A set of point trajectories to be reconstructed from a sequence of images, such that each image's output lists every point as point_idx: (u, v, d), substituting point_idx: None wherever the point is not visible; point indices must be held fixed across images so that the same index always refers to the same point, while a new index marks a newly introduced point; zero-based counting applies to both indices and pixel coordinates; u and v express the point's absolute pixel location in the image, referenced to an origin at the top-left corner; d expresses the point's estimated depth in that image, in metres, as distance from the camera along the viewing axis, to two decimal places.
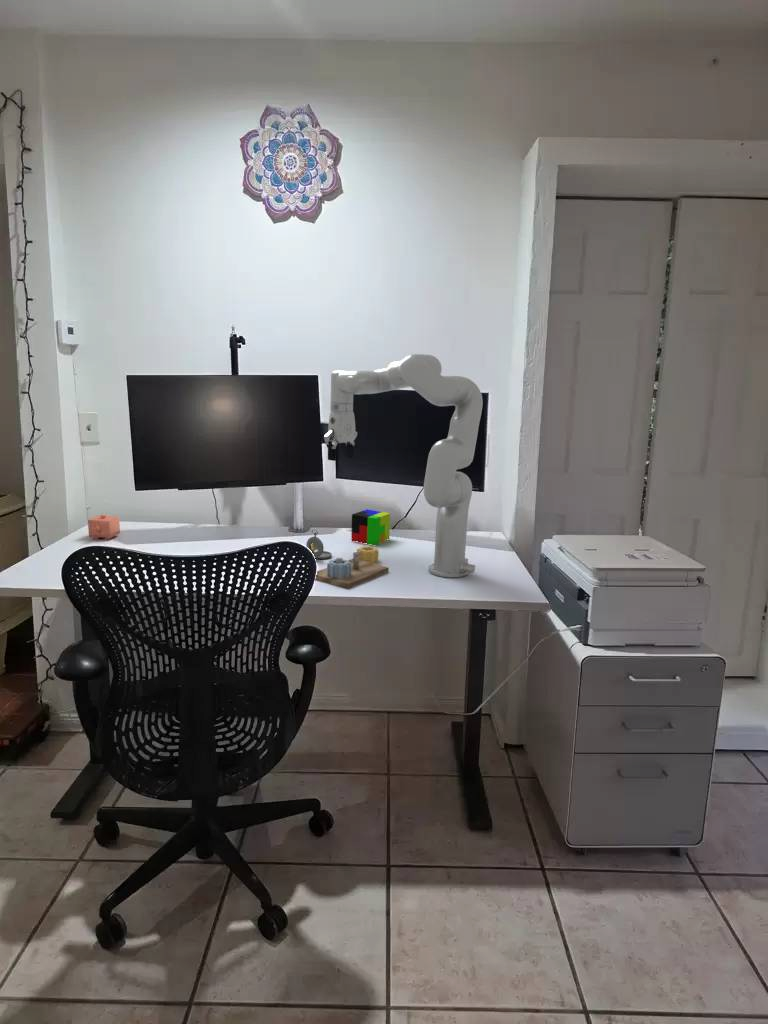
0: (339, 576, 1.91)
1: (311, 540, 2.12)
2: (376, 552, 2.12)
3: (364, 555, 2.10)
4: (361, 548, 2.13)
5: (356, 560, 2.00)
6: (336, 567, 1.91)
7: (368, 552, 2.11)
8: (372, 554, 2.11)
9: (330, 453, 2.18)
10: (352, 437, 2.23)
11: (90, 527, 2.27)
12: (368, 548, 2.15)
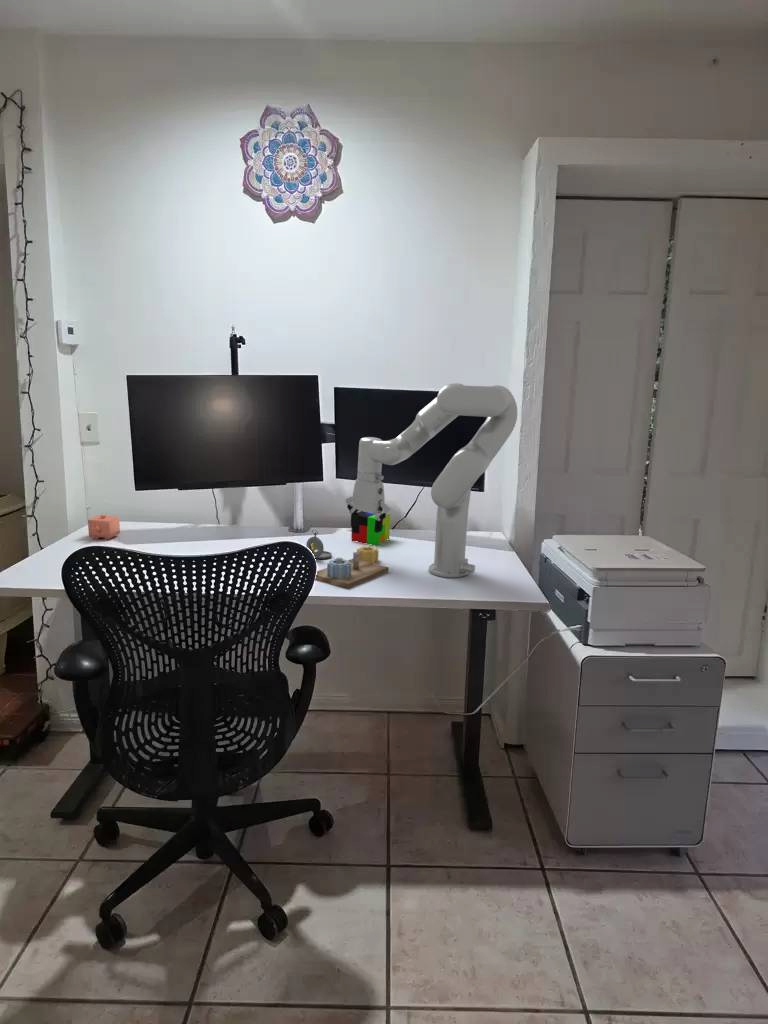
0: (339, 576, 1.91)
1: (311, 540, 2.12)
2: (376, 552, 2.12)
3: (364, 555, 2.10)
4: (361, 548, 2.13)
5: (356, 560, 2.00)
6: (336, 567, 1.91)
7: (368, 552, 2.11)
8: (372, 554, 2.11)
9: (381, 525, 2.08)
10: None
11: (90, 527, 2.27)
12: (368, 548, 2.15)
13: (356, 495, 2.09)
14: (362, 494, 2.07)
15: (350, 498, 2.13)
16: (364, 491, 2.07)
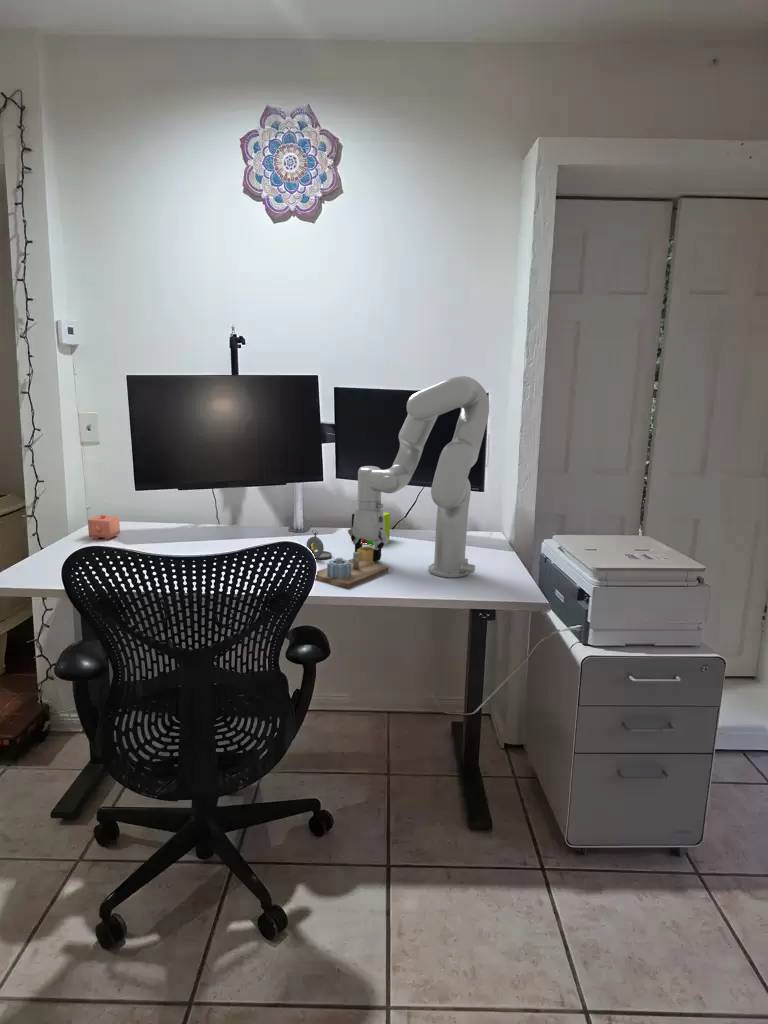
0: (339, 576, 1.91)
1: (311, 540, 2.12)
2: None
3: (364, 555, 2.10)
4: (361, 548, 2.13)
5: (356, 560, 2.00)
6: (336, 567, 1.91)
7: (368, 552, 2.11)
8: (372, 554, 2.11)
9: (379, 554, 2.11)
10: None
11: (90, 527, 2.27)
12: (368, 548, 2.15)
13: (357, 523, 2.11)
14: (362, 523, 2.09)
15: (352, 528, 2.15)
16: (364, 519, 2.09)
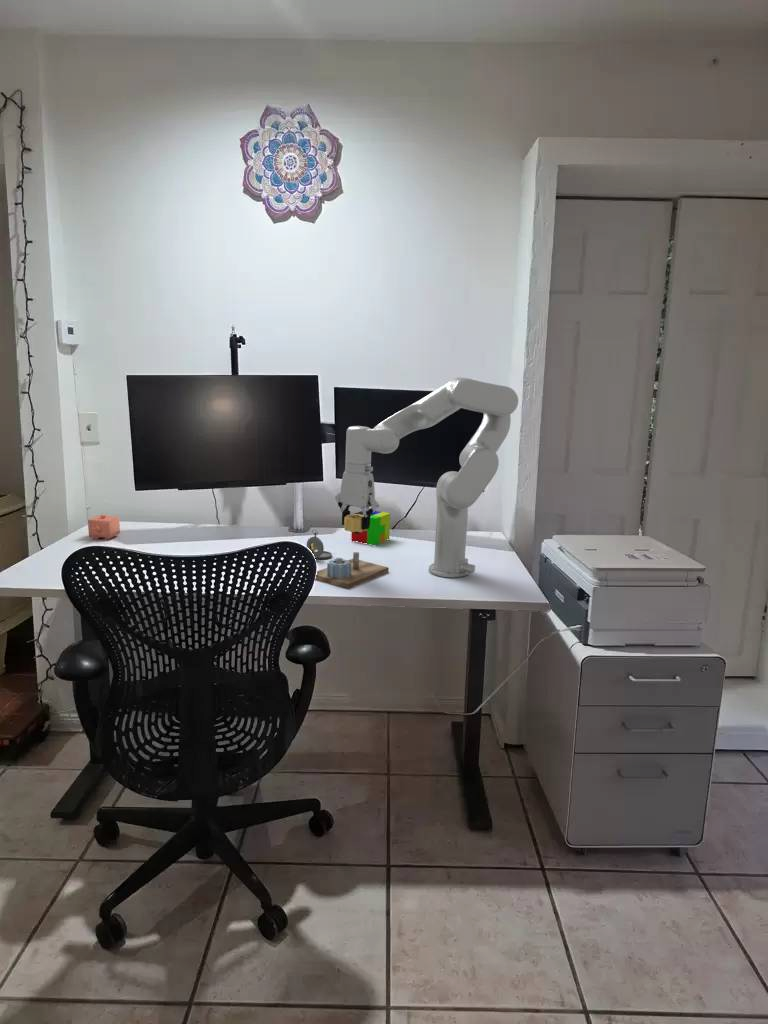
0: (339, 576, 1.91)
1: (311, 540, 2.12)
2: None
3: (352, 523, 1.94)
4: (349, 515, 1.98)
5: (356, 560, 2.00)
6: (336, 567, 1.91)
7: (356, 519, 1.95)
8: (360, 522, 1.95)
9: (368, 521, 1.95)
10: None
11: (90, 527, 2.27)
12: (356, 516, 1.99)
13: (344, 488, 1.95)
14: (350, 487, 1.94)
15: (339, 494, 1.99)
16: (353, 484, 1.93)
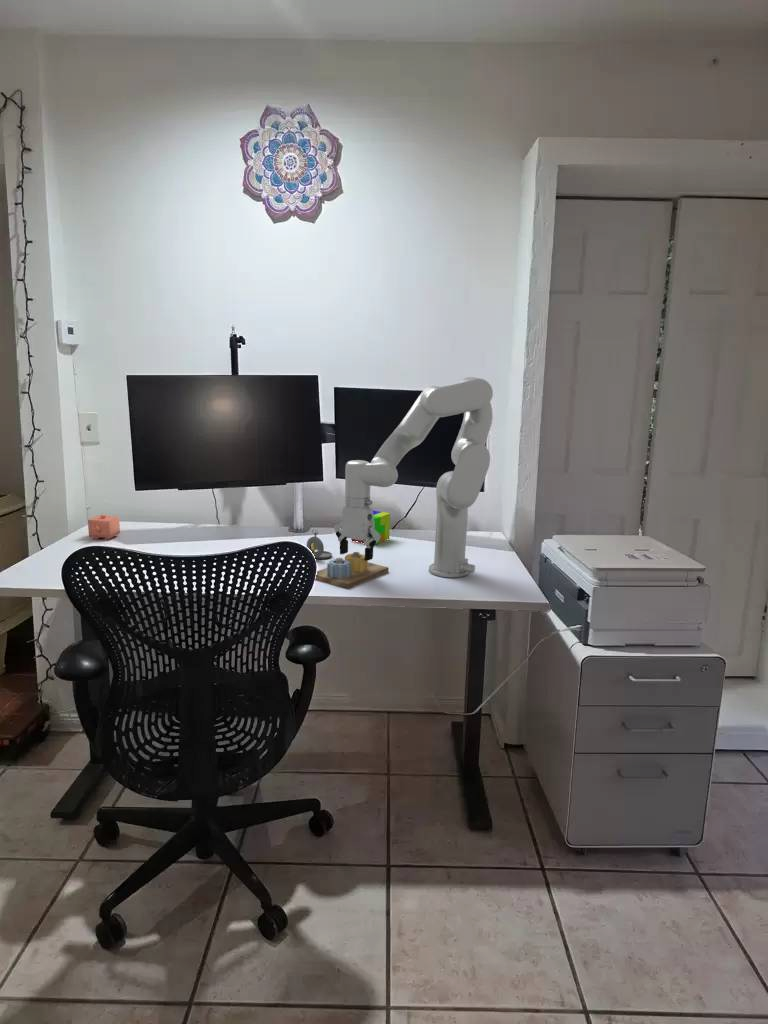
0: (339, 576, 1.91)
1: (311, 540, 2.12)
2: None
3: (352, 563, 1.97)
4: (349, 555, 2.00)
5: None
6: (336, 567, 1.91)
7: (356, 559, 1.98)
8: (361, 562, 1.97)
9: (371, 552, 1.96)
10: None
11: (90, 527, 2.27)
12: None
13: (344, 522, 1.98)
14: (350, 521, 1.96)
15: (338, 525, 2.02)
16: (352, 517, 1.95)
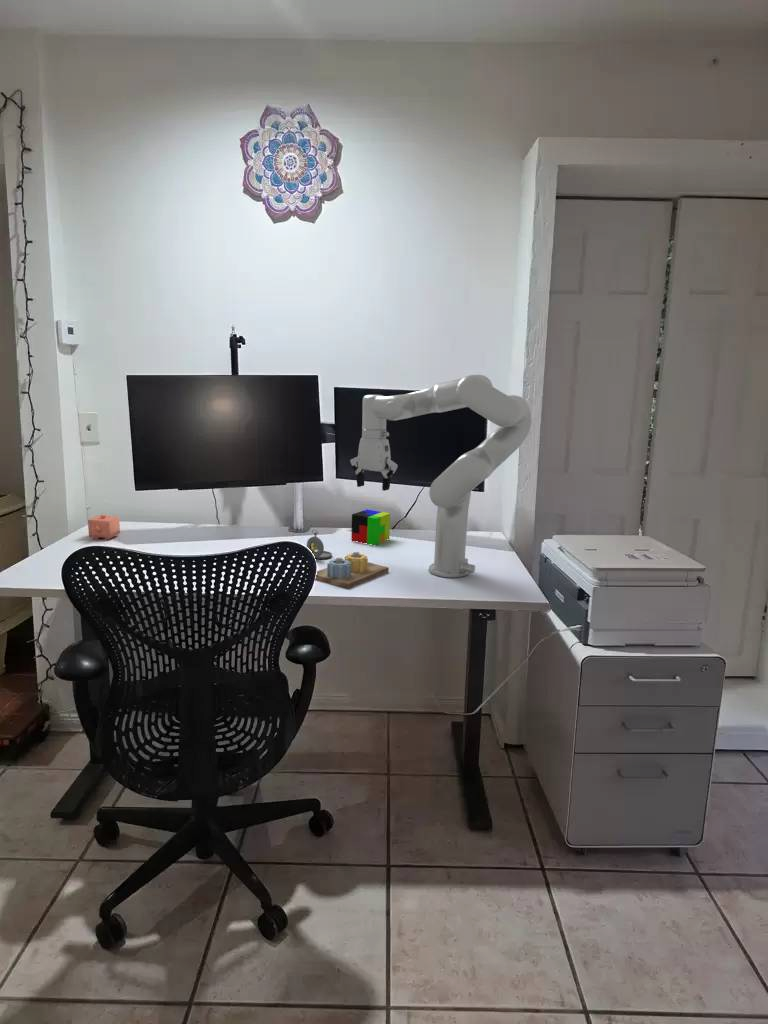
0: (339, 576, 1.91)
1: (311, 540, 2.12)
2: (365, 559, 1.99)
3: (352, 563, 1.97)
4: (349, 555, 2.00)
5: None
6: (336, 567, 1.91)
7: (356, 559, 1.98)
8: (361, 562, 1.97)
9: (388, 482, 2.06)
10: None
11: (90, 527, 2.27)
12: None
13: (362, 454, 2.07)
14: (368, 453, 2.06)
15: (355, 458, 2.11)
16: (370, 449, 2.05)
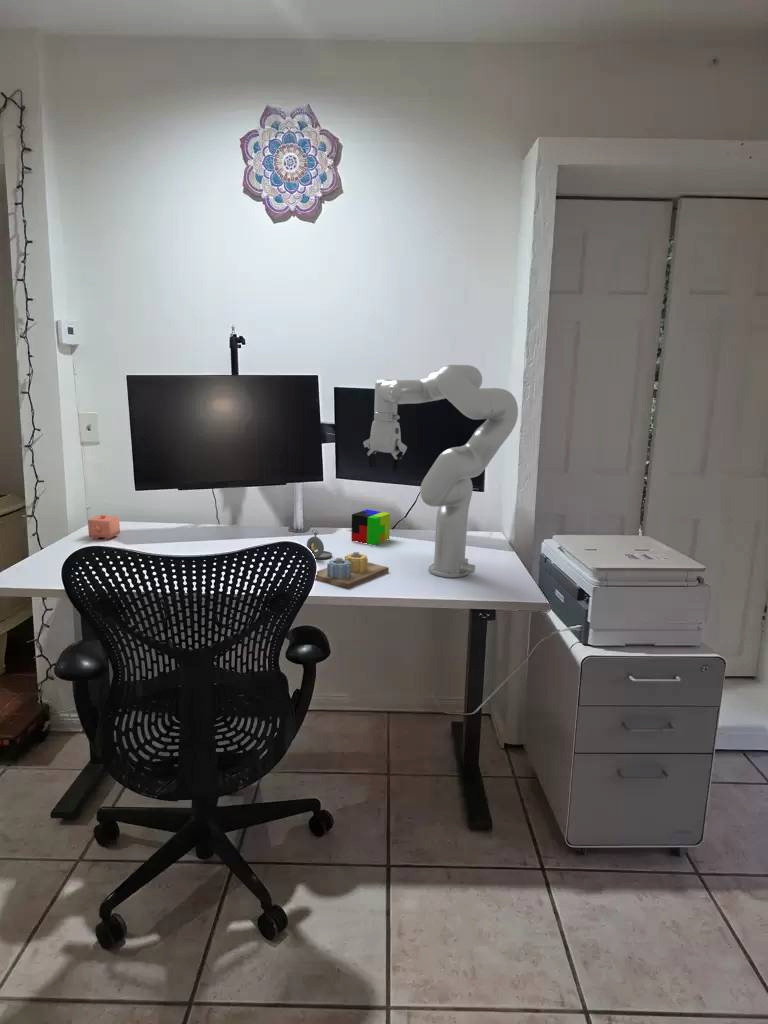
0: (339, 576, 1.91)
1: (311, 540, 2.13)
2: (365, 559, 1.99)
3: (352, 563, 1.97)
4: (349, 555, 2.00)
5: None
6: (336, 567, 1.91)
7: (356, 559, 1.98)
8: (361, 562, 1.97)
9: (398, 463, 2.16)
10: None
11: (90, 527, 2.27)
12: None
13: (373, 436, 2.18)
14: (379, 435, 2.16)
15: (367, 440, 2.21)
16: (381, 431, 2.15)
